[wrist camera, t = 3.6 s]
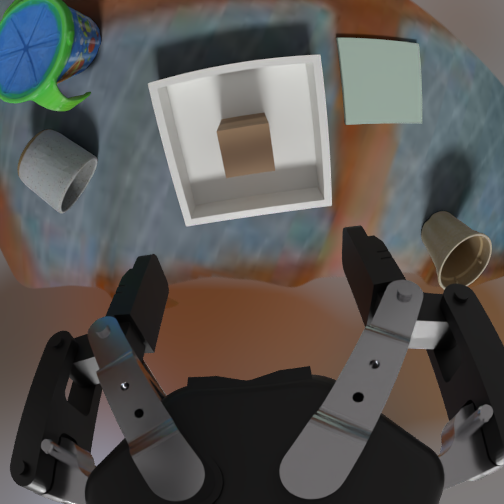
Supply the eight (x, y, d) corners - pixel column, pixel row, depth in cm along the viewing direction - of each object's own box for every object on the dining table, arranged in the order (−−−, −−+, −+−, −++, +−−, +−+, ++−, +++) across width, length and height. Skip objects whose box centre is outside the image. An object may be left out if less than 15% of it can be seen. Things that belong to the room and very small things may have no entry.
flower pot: (464, 236, 39) (492, 269, 32) (419, 264, 42) (443, 302, 35) (455, 189, 34) (490, 221, 27) (404, 220, 37) (433, 258, 30)
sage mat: (336, 38, 24) (337, 37, 24) (416, 43, 23) (418, 43, 23) (344, 123, 30) (346, 124, 29) (419, 122, 29) (422, 123, 29)
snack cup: (29, 21, 19) (-26, 23, 10) (97, -26, 17) (50, -45, 9) (61, 120, 28) (10, 146, 19) (133, 81, 26) (90, 91, 18)
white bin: (159, 80, 26) (147, 83, 23) (311, 55, 25) (320, 54, 22) (191, 209, 36) (186, 226, 32) (323, 190, 35) (331, 205, 31)
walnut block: (221, 119, 29) (216, 131, 24) (264, 112, 29) (268, 123, 24) (229, 158, 31) (226, 178, 27) (270, 152, 31) (275, 170, 26)
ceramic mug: (57, 118, 27) (19, 137, 21) (106, 148, 30) (75, 173, 24) (35, 184, 32) (3, 211, 26) (77, 212, 35) (51, 245, 29)
